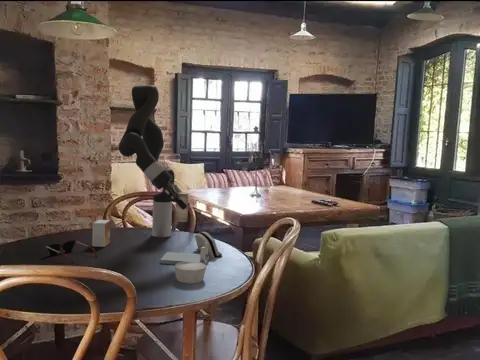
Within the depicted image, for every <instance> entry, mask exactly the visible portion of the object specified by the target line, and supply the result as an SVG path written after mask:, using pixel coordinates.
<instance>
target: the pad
mask: <svg viewBox="0 0 480 360" xmlns="http://www.w3.org/2000/svg"><path fill="white" fill-rule="evenodd" d="M208 247H209V243H208V242H204V247H201V250H200V252H199V253H188V252H176V251H175V252H172V251H167V252H165V253H164V254H163V256H161V258H160V259H159V264H163V265H164V264H165V265H166V264H167V265H175V264H177V263H180V262H199V263H203V264H205V265H206V266H207V265H208V263H209V261H210V258H211V257H210V255H208Z"/></svg>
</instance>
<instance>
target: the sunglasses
mask: <svg viewBox="0 0 480 360" xmlns="http://www.w3.org/2000/svg"><path fill="white" fill-rule="evenodd" d="M76 243H78V244H81V245H83V246H85V247H88V248H89V249H92V251H93V253H94V255H95V258H96V259H98V255H97V253H96V250H95V248H93V246H90V245H87V244H84V243H81V242H79V241H77V240H76V239H75V240H74V239H71V240H67V241H64V242H62V244H60V243H50V244H47V245H46V246H45V248H46V251H47V253H48V255H49V256H53V255H58V254H61V255H63V256H65V257H67V259H69V260H70V261H71V262H72V264H76V262H75V261H74V260H73V259H72V258H71V257H70V256H68V255H67V254H66V253H67V252H68V253H69V252H73V250H74V247H75V245H76ZM61 249H62V251H64V253H63V252H61Z"/></svg>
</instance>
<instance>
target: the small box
mask: <svg viewBox="0 0 480 360" xmlns="http://www.w3.org/2000/svg"><path fill="white" fill-rule="evenodd" d="M91 239H92V243H91V244H92V246H91V247H101V248H105V247H107V246H108V245H109V244H110V243H111V241H110V240H111V220H109V219H98V220H96V221H94V222H93V223H92V238H91Z"/></svg>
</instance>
